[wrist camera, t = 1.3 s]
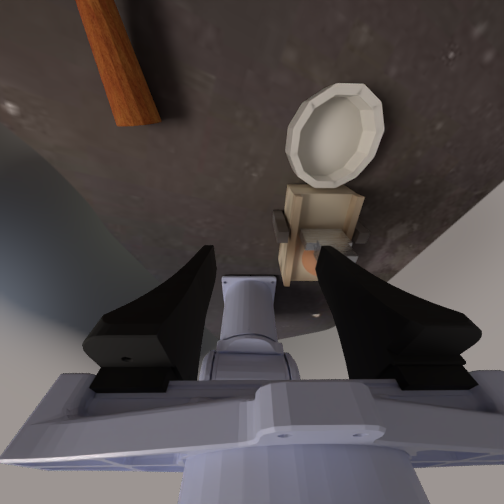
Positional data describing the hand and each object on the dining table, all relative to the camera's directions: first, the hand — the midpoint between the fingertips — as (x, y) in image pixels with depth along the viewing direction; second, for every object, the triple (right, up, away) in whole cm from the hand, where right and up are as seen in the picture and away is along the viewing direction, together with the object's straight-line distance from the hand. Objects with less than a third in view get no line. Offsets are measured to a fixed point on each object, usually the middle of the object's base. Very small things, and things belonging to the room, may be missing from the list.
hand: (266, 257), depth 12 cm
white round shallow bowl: (+6, +11, +5) cm, 13 cm away
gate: (+6, +2, +6) cm, 8 cm away
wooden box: (+6, +3, +10) cm, 12 cm away
